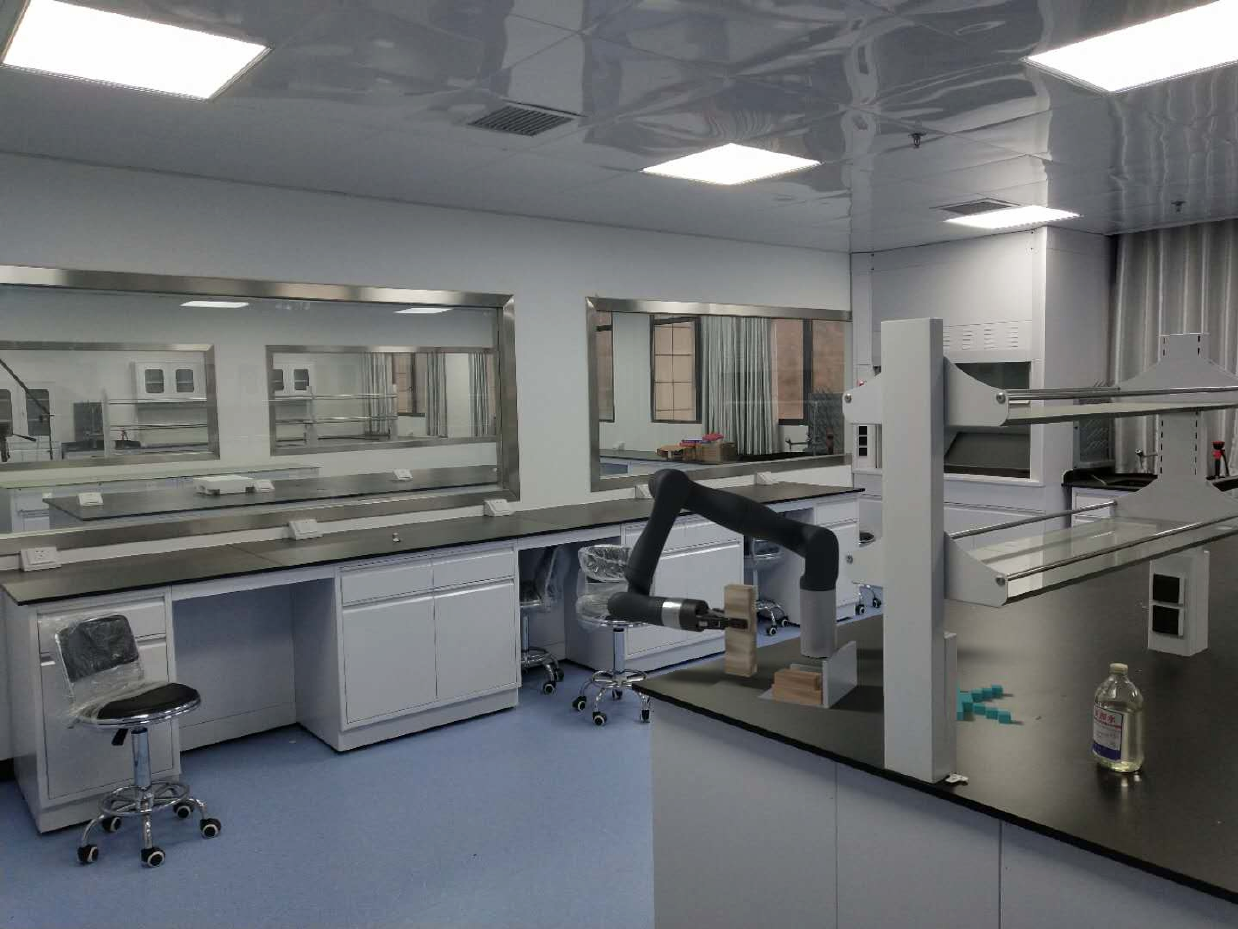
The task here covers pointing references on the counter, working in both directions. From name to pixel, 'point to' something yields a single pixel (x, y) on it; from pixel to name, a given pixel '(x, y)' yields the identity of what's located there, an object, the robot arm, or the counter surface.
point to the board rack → (830, 676)
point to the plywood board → (740, 630)
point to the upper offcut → (798, 679)
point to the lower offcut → (798, 693)
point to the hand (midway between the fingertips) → (751, 622)
